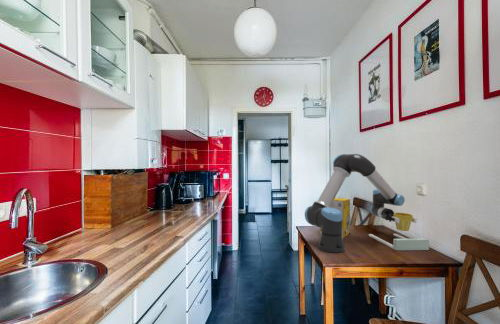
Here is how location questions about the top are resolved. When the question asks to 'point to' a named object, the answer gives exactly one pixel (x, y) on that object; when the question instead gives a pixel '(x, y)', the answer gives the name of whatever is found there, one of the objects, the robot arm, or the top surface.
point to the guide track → (406, 243)
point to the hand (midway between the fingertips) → (407, 220)
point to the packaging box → (343, 214)
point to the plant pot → (403, 221)
